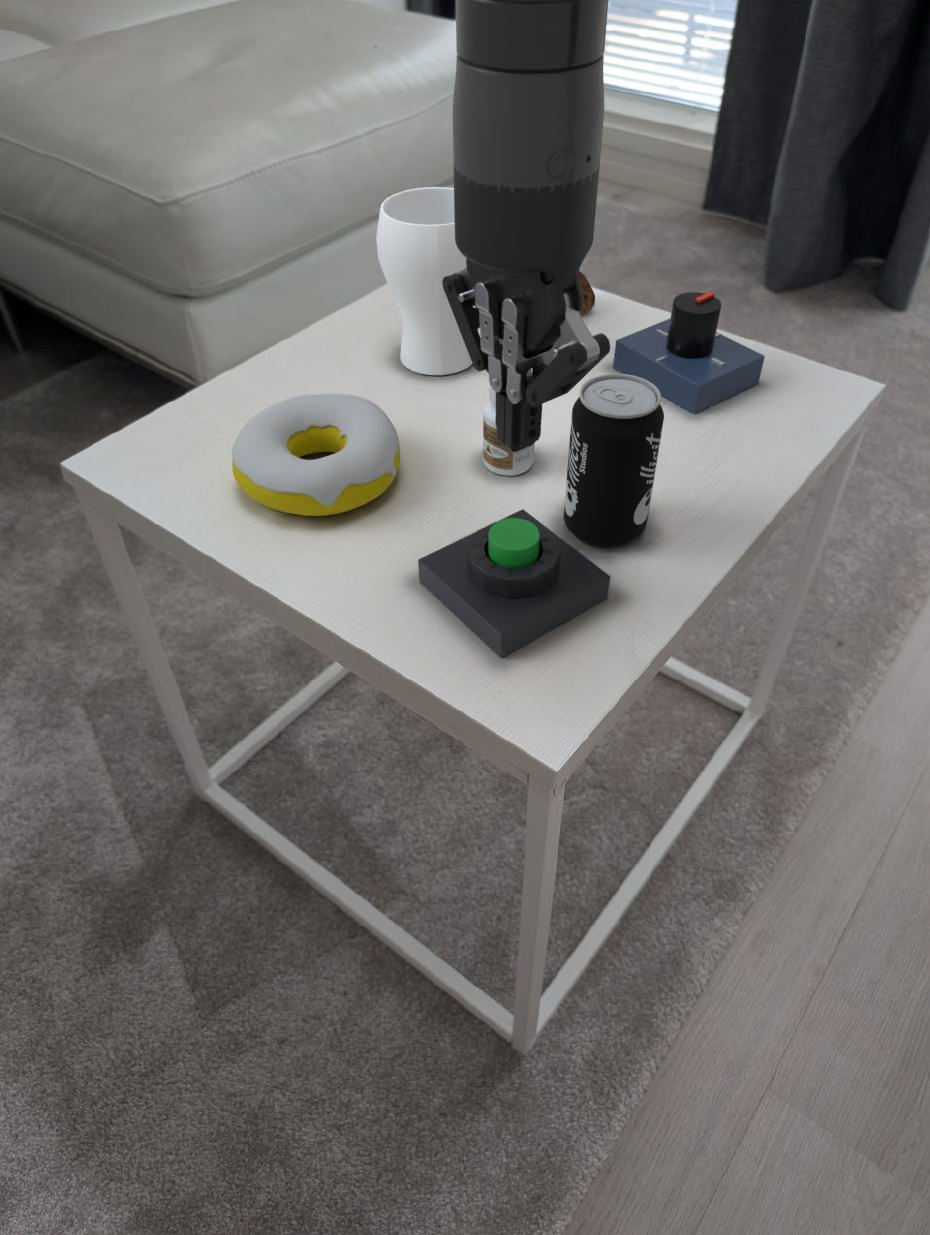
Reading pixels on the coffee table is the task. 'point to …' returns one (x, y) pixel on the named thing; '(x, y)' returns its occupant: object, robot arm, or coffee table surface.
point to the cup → (423, 276)
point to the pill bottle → (501, 446)
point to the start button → (514, 543)
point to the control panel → (688, 367)
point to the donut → (311, 427)
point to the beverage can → (612, 459)
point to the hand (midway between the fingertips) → (517, 442)
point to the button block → (513, 587)
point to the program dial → (693, 324)
